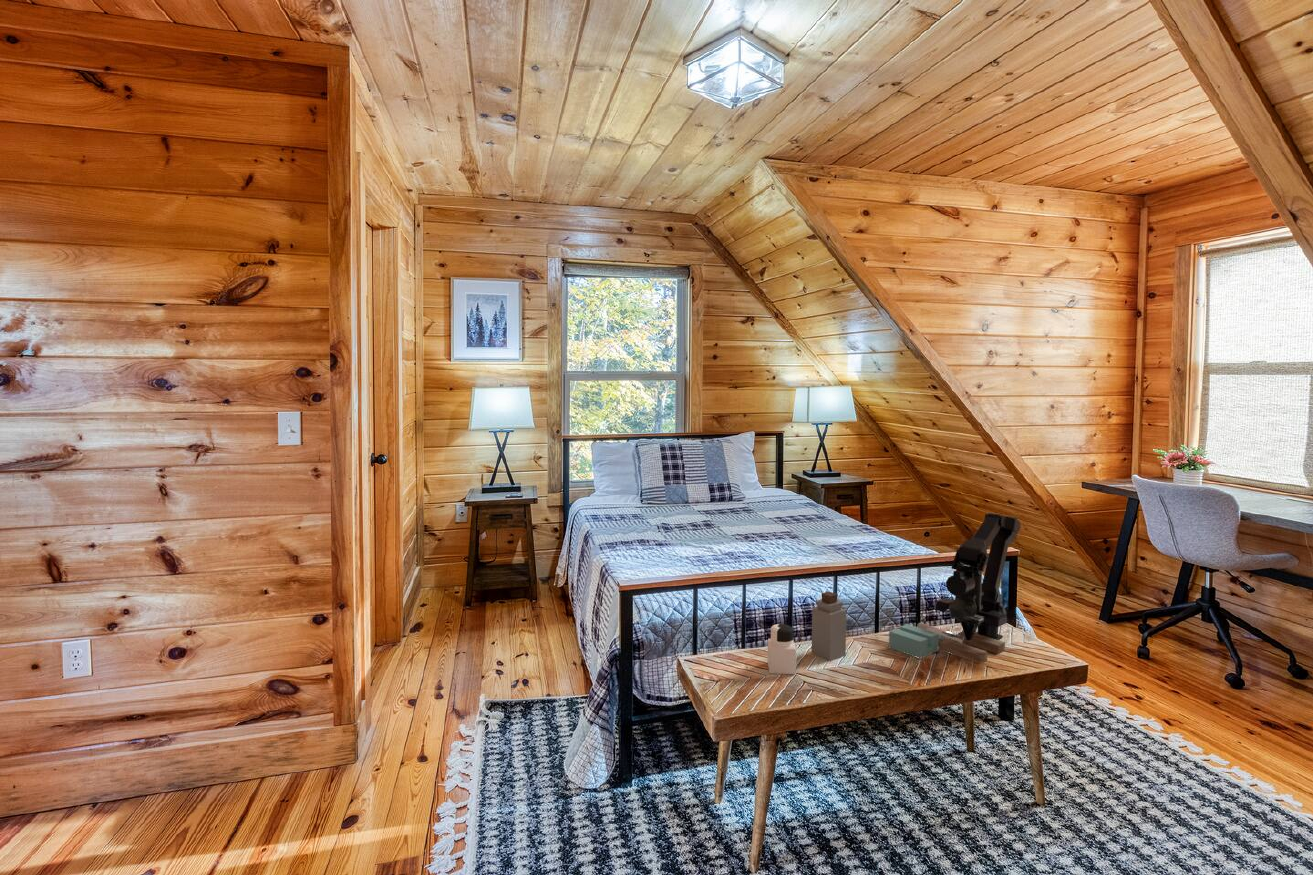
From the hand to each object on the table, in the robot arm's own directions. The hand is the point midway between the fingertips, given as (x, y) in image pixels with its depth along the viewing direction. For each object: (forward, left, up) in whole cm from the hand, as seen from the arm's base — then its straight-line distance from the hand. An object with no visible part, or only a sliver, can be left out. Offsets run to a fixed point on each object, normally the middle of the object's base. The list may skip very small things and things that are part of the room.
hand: (968, 639), depth 187 cm
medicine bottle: (+54, -25, -3) cm, 59 cm away
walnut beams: (0, +1, -3) cm, 3 cm away
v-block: (+13, -10, -3) cm, 17 cm away
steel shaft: (0, -9, -3) cm, 9 cm away
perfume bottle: (+36, -23, -3) cm, 43 cm away
